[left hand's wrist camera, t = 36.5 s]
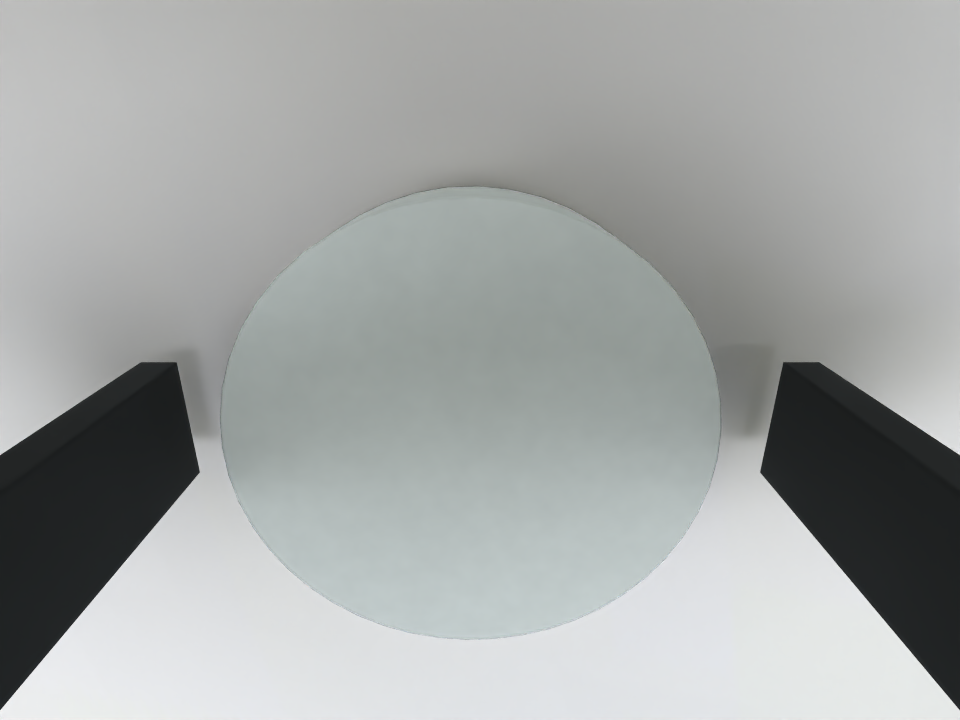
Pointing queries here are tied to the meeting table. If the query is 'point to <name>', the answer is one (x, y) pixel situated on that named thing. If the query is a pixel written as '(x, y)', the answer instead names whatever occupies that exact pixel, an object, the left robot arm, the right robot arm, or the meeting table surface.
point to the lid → (470, 415)
